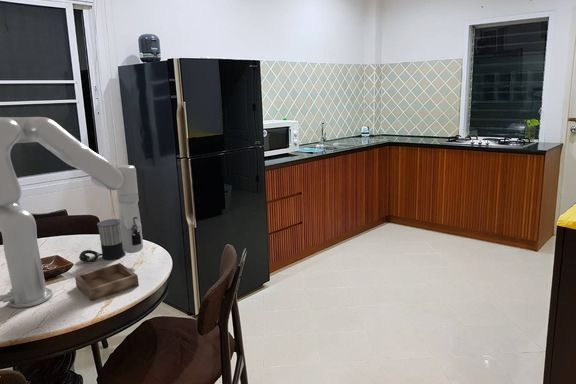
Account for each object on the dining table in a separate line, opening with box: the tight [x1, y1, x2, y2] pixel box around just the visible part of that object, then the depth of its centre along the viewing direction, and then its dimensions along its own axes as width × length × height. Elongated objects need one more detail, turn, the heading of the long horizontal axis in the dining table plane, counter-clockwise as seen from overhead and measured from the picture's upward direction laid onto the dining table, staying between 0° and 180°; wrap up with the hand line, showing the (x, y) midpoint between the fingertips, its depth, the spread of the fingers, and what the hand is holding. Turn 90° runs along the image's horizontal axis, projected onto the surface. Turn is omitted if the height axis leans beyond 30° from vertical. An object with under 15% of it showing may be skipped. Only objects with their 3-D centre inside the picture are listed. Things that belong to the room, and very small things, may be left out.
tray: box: [74, 262, 140, 302], centre depth 155 cm, size 16×16×4 cm
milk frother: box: [78, 218, 126, 264], centre depth 180 cm, size 14×16×15 cm
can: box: [121, 222, 144, 254], centre depth 171 cm, size 8×8×12 cm
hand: (132, 241), depth 172 cm, fingers closed on can, 7 cm apart
